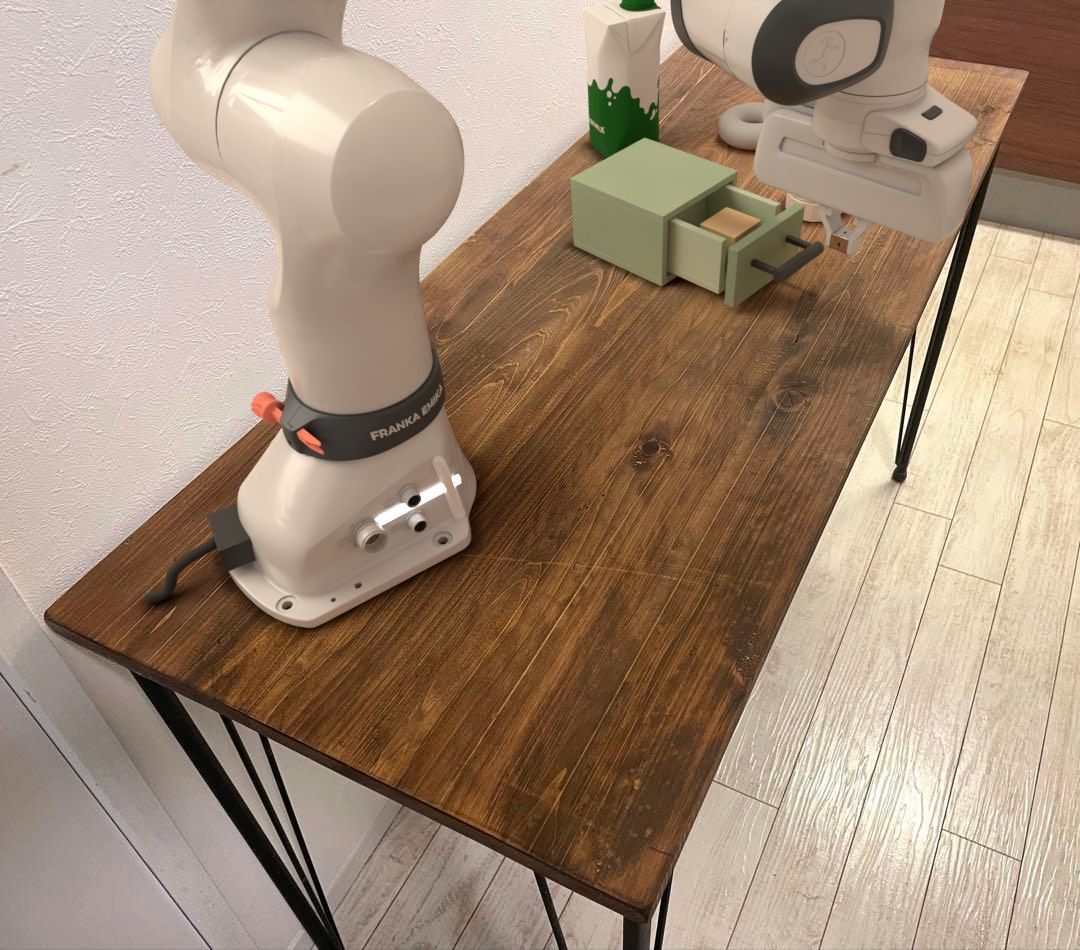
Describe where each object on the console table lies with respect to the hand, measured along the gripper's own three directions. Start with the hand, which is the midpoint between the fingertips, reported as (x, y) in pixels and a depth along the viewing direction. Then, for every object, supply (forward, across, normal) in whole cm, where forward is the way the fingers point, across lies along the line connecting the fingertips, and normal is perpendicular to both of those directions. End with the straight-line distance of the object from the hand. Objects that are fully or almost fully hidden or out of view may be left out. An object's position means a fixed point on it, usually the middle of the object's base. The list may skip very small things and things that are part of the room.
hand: (842, 248), depth 89 cm
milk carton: (+8, -43, +16) cm, 47 cm away
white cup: (+8, -14, +18) cm, 24 cm away
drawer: (+7, -12, 0) cm, 14 cm away
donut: (+9, -31, +29) cm, 43 cm away
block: (+6, -13, 0) cm, 14 cm away
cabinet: (+8, -24, 0) cm, 25 cm away
